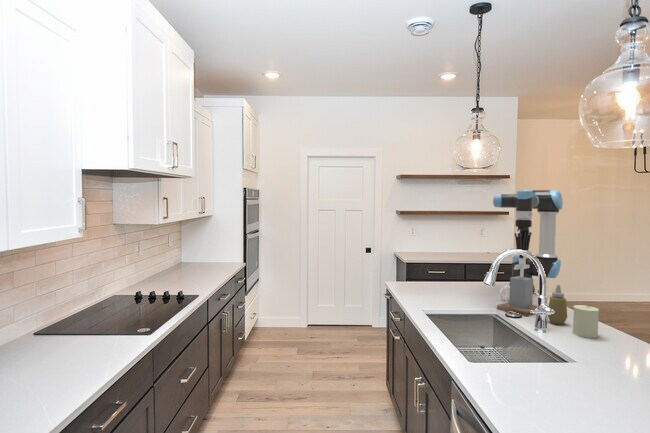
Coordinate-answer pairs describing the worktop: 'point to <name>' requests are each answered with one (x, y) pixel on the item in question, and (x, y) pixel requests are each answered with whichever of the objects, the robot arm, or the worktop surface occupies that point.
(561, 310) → the squeeze bottle
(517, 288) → the soap dispenser
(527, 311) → the walnut caddy
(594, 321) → the can
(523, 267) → the pump head
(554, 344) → the worktop surface
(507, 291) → the cup
